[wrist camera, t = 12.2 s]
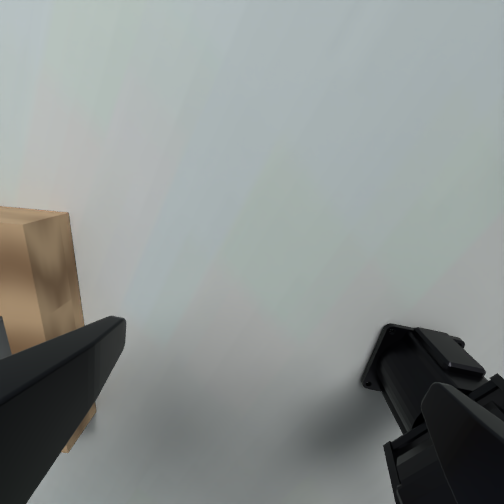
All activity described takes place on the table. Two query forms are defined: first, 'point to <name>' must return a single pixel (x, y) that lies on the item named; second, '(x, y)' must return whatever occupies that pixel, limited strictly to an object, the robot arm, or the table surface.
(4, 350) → the gray square post
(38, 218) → the wooden block with hole
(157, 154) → the table surface
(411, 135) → the table surface
